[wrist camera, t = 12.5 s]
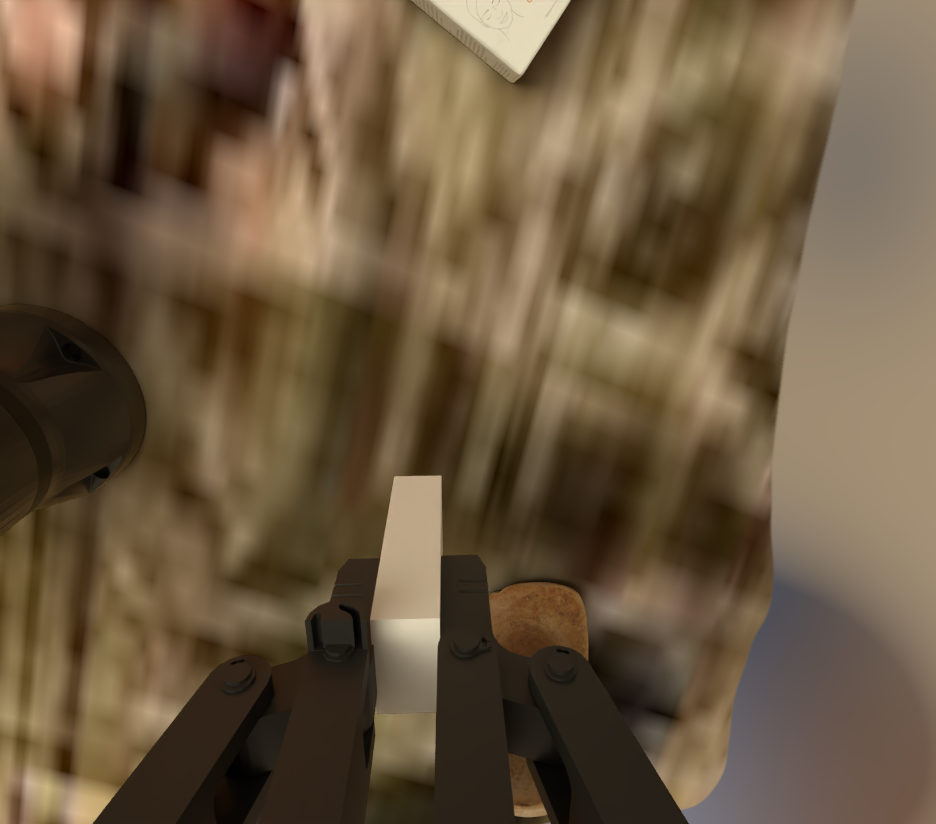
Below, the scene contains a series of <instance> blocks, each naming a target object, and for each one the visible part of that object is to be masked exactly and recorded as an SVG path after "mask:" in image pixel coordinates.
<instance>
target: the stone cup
mask: <svg viewBox="0 0 936 824" xmlns="http://www.w3.org/2000/svg"><path fill="white" fill-rule="evenodd" d="M489 604H490V613H491V622H492V631H493V634H494V637H495V639H496V640H497V642H498V643H499V644H500V645H501V646H503V647H504V648H505V649H507V650H509V651H510V652H513V653H516V654H519V655H523V656H527V657H531V658H532V656H533V655H534V654H535V653H536V652H537V651H538V650H539V649H542V648H544V647H547V646H558V645H560V646H564V647H569V648H572V649H574V650H575V651H577V652H579V653H581V654H582V655H583V656H584V657H585V659H586V660H587V661H588V626H587V615H586V609H585V606H584V604H583V601H582V599H581V596H580V595H579V594H578V593H577V592H576V591H575V590H574V589H572V588H570V587H567V586H565V585H560V584H555V583H549V582H528V583H518V584H514V585H511V586H508V587H506V588H504V589H503V590H502V591H500V592H493V593H492V594H490V595H489ZM508 758H509V767H510V777H511V786H512V795H513V804H514V814H515V816H522V817H536V816H544V815H546V814H547V813H546V810H545V808H544V805H543V803H542V800H541V798H540V795H539V793H538V790H537V788H536V786H535V783H534V781H533V778H532V776H531V773H530V771H529V768H528V766H527V763H526V758H524V757H521V756H518V755H514V754H511V753H508Z"/></svg>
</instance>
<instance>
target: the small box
mask: <svg viewBox="0 0 936 824" xmlns="http://www.w3.org/2000/svg"><path fill="white" fill-rule="evenodd" d="M411 1H412V2H414V3H415V4H416V5H417V6H418V7H420V8H421V9H422V10H423V11H424V12H426V13H427V14H428V15H429V16H430V17H432V18H433V19H434V20H435V21H436V22H437V23H438V24H440V25H441V26H442V27H443V28H445V29H446V30H447V31H448V32H450V33H451V34H452V35H453V36H455V37H456V38H457V39H458V40H459V41H461V42H462V43H463V44H464V45H465V46H467V47H468V48H469V49H470V50H471V51H473V52H474V53H475V54H476V55H477V56H479V57H480V58H481V59H482V60H483V61H485V62H486V63H487V64H488V65H490V66H491V67H492V68H493V69H494V70H496V71H497V72H498V73H499V74H501V75H502V76H503V77H504V78H506V79H507V80H508V81H509V82H511V83H514V82H515V81H516V80H517V79H519V78H520V77H521V76H522V75H523V74H524V72H525V71H526V69H527V68H528V66H529V65H530V63H531V62H532V60H533V58H534V57H535V55H536V54H537V52H538V51H539V49H540V48H541V46H542V45H543V43H544V41H545V40H546V38H547V37H548V35H549V34H550V32H551V31H552V29H553V27H554V26H555V24H556V23H557V21H558V20H559V18H560V17H561V15H562V14H563V12H564V10H565V9H566V7H567V6H568V4H569V2H570V1H571V0H411Z"/></svg>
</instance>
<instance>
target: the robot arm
mask: <svg viewBox="0 0 936 824" xmlns="http://www.w3.org/2000/svg"><path fill="white" fill-rule="evenodd" d="M144 430H145V407H144V401H143V397H142V394H141V391H140V388H139V385H138V383H137V381H136V379H135V377H134V375H133V373H132V371H131V369H130V368H129V366H128V365H127V363H126V362H125V360H124V359H123V358H122V356H121V355H120V354H119V353H118V352H117V351H116V349H115V348H114V347H113V346H112V345H111V344H110V343H109V342H108V341H107V340H105V339H104V338H103V337H102V336H101V335H99V334H98V333H97V332H96V331H94V330H93V329H91V328H90V327H88V326H87V325H85V324H84V323H82V322H80V321H78V320H76V319H75V318H72V317H70V316H68V315H66V314H63V313H61V312H58V311H55V310H52V309H48V308H44V307H39V306H34V305H22V304H13V305H2V306H0V536H1V535H2V534H4V533H5V532H6V531H7V530H9V529H10V528H11V527H12V526H14V525H15V524H16V523H17V522H18V521H20V520H21V519H22V518H24V517H25V516H26V515H28V514H29V513H30V512H32V511H35V510H38V509H42V508H45V507H48V506H52V505H55V504H58V503H62V502H65V501H68V500H71V499H75V498H78V497H81V496H84V495H87V494H89V493H91V492H93V491H95V490H97V489H99V488H100V487H102V486H104V485H105V484H106V483H108V482H109V481H110V480H111V479H113V478H114V477H115V476H116V475H117V474H118V473H120V472H121V471H122V470H123V469H124V468H125V467H126V466H127V465H128V464H129V463H130V462H131V461H132V459H133V458H134V456H135V455H136V453H137V451H138V449H139V447H140V445H141V442H142V439H143V435H144ZM305 626H306V634H307V642H308V649H309V652H308V653H307V654H306V655H304V656H302V657H300V658H299V659H297V660H294V661H291V662H288V663H285V664H281V665H278V666H274V667H270V665H269V663H268V662H267V661H266V660H265V659H264V658H261V657H258V656H255V655H243V656H239V657H235V658H232V659H230V660H228V661H226V662H224V663H222V664H220V665H219V666H218V667H217V668H216V669H215V670H214V671H213V672H211V673H210V675H209V676H208V677H207V678H206V680H205V681H204V682H203V684H202V685H201V686H200V687H199V689H198V690H197V691H196V692H195V694H194V695H193V696H192V698H191V699H190V700H189V701H188V703H187V704H186V705H185V706H184V708H183V709H182V710H181V712H180V713H179V714H178V715H177V717H176V718H175V719H174V720H173V722H172V723H171V724H170V726H169V727H168V728H167V729H166V731H165V732H164V733H163V735H162V736H161V737H160V738H159V740H158V741H157V742H156V743H155V745H154V746H153V747H152V749H151V750H150V751H149V752H148V754H147V755H146V756H145V757H144V759H143V760H142V761H141V763H140V764H139V765H138V766H137V768H136V769H135V770H134V772H133V773H132V774H131V775H130V777H129V778H128V779H127V780H126V782H125V783H124V784H123V786H122V787H121V788H120V789H119V791H118V792H117V793H116V794H115V796H114V797H113V798H112V800H111V801H110V802H109V803H108V805H107V806H106V807H105V809H104V810H103V811H102V812H101V814H100V815H99V816H98V817H97V819H96V820H95V821H94V823H93V824H255V823H256V821H257V819H258V817H259V815H260V813H261V812H262V810H263V812H262V815H261V819H260V822H259V824H364V823H365V815H366V807H367V798H368V790H369V782H370V774H371V766H372V758H373V749H374V741H375V726H374V715H375V707H376V708H377V714H400V713H433V712H436V750H435V802H434V824H516V823H515V814H514V804H513V795H512V786H511V777H510V767H509V758H508V753H511V754H514V755H518V756H521V757H524V758H526V763H527V766H528V768H529V771H530V773H531V776H532V778H533V781H534V783H535V786H536V788H537V790H538V793H539V795H540V798H541V800H542V803H543V805H544V808H545V810H546V813H547V815H548V818H549V820H550V823H551V824H689V823H688V822H687V820H686V819H685V817H684V815H683V814H682V812H681V810H680V809H679V807H678V806H677V804H676V802H675V801H674V799H673V798H672V796H671V794H670V793H669V791H668V789H667V788H666V786H665V785H664V783H663V781H662V780H661V778H660V777H659V775H658V773H657V772H656V770H655V768H654V767H653V765H652V764H651V762H650V760H649V759H648V757H647V756H646V754H645V752H644V751H643V749H642V747H641V746H640V744H639V743H638V741H637V739H636V738H635V736H634V735H633V733H632V731H631V730H630V728H629V726H628V725H627V723H626V722H625V720H624V718H623V717H622V715H621V714H620V712H619V710H618V709H617V707H616V705H615V704H614V702H613V701H612V699H611V697H610V696H609V694H608V693H607V691H606V689H605V688H604V686H603V684H602V683H601V681H600V680H599V678H598V676H597V675H596V673H595V672H594V670H593V668H592V667H591V665H590V664H589V662H588V661H587V660H586V659H585V657H584V656H583V655H582V654H581V653H579V652H577V651H575V650H574V649H572V648H569V647H564V646H560V645H558V646H547V647H544V648H542V649H539V650H538V651H537V652H536V653H535V654H534V655H533V656H532V658H531V657H527V656H523V655H519V654H516V653H513V652H510V651H509V650H507V649H505V648H504V647H503V646H501V645H500V644H499V643H498V642H497V640H496V639H495V637H494V634H493V631H492V622H491V613H490V604H489V594H488V585H487V575H486V566H485V565H484V564H483V562H482V561H481V560H480V558H479V557H478V556H477V555H455V556H443V542H442V484H441V476H394V482H393V488H392V493H391V499H390V505H389V511H388V517H387V523H386V529H385V534H384V540H383V546H382V552H381V558H372V559H349V560H348V561H347V562H346V563H345V564H344V565H343V566H342V567H341V569H340V570H339V571H338V574H337V578H336V582H335V587H334V589H333V593H332V597H331V600H330V602H328V603H325V604H323V605H320V606H318V607H317V608H316V609H314V610H313V611H312V612H311V613H310V614H309V615H308V617H307V619H306V620H305Z"/></svg>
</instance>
